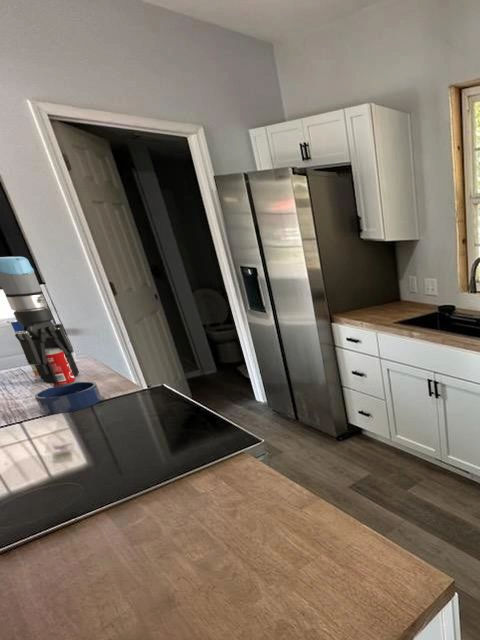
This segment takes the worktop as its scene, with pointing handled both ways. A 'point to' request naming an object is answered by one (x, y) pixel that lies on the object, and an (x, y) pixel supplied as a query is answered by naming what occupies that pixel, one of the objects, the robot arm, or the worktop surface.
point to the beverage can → (59, 367)
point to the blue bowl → (68, 397)
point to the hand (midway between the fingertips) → (61, 379)
